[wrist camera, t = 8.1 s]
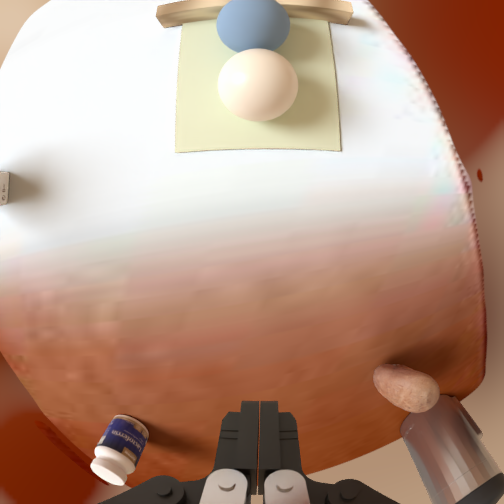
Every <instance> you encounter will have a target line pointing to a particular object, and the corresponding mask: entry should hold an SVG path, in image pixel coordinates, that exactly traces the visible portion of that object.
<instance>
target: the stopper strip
mask: <svg viewBox="0 0 504 504" xmlns="http://www.w3.org/2000/svg"><path fill="white" fill-rule="evenodd" d="M230 1H231V0H185V1H180V2H174V3H170V4H165V5H160V6H158V8H157V13H156V17H157V19H158V20H159V22H160V23H161V25H162V26H163V28H167V27H172V26H177V25H182V24H183V23H189V22H196V21H204V20H212V19H217V18H218V15H219V13H220V11H221V9H222V8H223V7H224V6H225V5H226V4H227V3H228V2H230ZM275 1H277V2H278V3H280V4H281V5H282V6H283V7H284V9H285V10H286V12H287V13H288V16H289V17H291V18H305V19H316V20H324V21H328V22H332V23H338V24H345V25H347V23H348V22H349V20H350V18H351V16H352V14H353V9H352V5H351V2H347V1H341V0H275Z"/></svg>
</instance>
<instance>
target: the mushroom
mask: <svg viewBox="0 0 504 504" xmlns="http://www.w3.org/2000/svg"><path fill="white" fill-rule="evenodd" d="M373 379H374V381H373V382H374V383H375V387H376V388H377V390H378V391H379V393H380V394H382V395H383V397H385V398H386V399H388V400H389V401H390V402H391V403H392V404H393V405H395V406H397V407H401V408H402V409H403V410H406V411H409V412H412V413H420V412H425V411H427V410H429V409H430V408H432V407H433V406H434V405H435V404H436V402H437V401H438V398H439V395H440V391H439V387H438V384H437V382H436V381H435V380H434V379H433V378H432V377H431V376H429V375H428V374H425V373H423V372H420V371H416V370H413V369H412V368H409V367H407V366H406V365H399V364H397V365H395V364H393V365H391V364H382V365H380V366H378V367H377V368H376V370H374V375H373Z"/></svg>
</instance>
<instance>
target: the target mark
mask: <svg viewBox="0 0 504 504" xmlns="http://www.w3.org/2000/svg"><path fill="white" fill-rule="evenodd" d="M289 19H290V31H289V34H288V36H287V38H286V40H285V41H284V43H283V44H282V45H281V46H280V47H278V48H277V49H275V50H274V52H276V53H278V54H280V55H281V56H283V57H284V58H285V59H286V60H288V61H289V63H290V64H291V65H292V67H293V68H294V70H295V72H296V75H297V78H298V92H297V96H296V98H295V101H294V102H293V104H292V105H291V107H290V108H289V109H288V110H287V111H286V112H285V113H283V114H282V115H280V116H279V117H277V118H274V119H271V120H268V121H261V122H256V121H249V120H245V119H242V118H240V117H238V116H236V115H234V114H233V113H232V112H230V111H229V110H228V109H227V108H226V106H225V105H224V104H223V102H222V100H221V98H220V96H219V92H218V77H219V74H220V72H221V69H222V68H223V66H224V64H225V63H226V62H227V61H228V60H229V59H230V58H231V57H233V56H234V55H235V54H237V52H235V51H233V50H231V49H230V48H228V47H227V46H226V45H225V44H224V43H223V42H222V40H221V39H220V37H219V35H218V32H217V28H216V23H217V19H212V20H204V21H196V22H189V23H183V24H182V32H181V42H180V52H179V64H178V78H177V96H176V124H175V153H181V152H193V151H207V150H227V149H312V150H331V151H340V131H339V114H338V100H337V89H336V78H335V69H334V61H333V53H332V45H331V39H330V32H329V26H328V21H324V20H316V19H305V18H291V17H289Z"/></svg>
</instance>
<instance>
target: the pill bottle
mask: <svg viewBox="0 0 504 504" xmlns="http://www.w3.org/2000/svg"><path fill="white" fill-rule="evenodd" d="M148 437H149V433H148V430H147V429H146V427H145V426H144V425H143V424H142V423H141V422H139V421H138V420H136V419H134V418H132V417H130V416H127V415H117V416H115V417H114V418H113V419H112V421H111V423H110V424H109V426H108V428H107V429H106V431H105V433H104V434H103V436H102V438H101V439H100V441H99V443H98V444H97V446H96V448H95V455H96V457H97V458H96V459H94V460H93V462H92V464H91V469H92V470H93V471H94V472H95V473H96V474H97V475H98V476H99V477H101V478H102V479H104V480H106V481H108V482H110V483H112V484H115V485H124V484H125V482H126V480H127V476H126V474H130V473H132V472H134V470H135V468H136V466H137V463H138V461H139V459H140V456H141V454H142V452H143V449H144V447H145V445H146V442H147V440H148Z"/></svg>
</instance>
